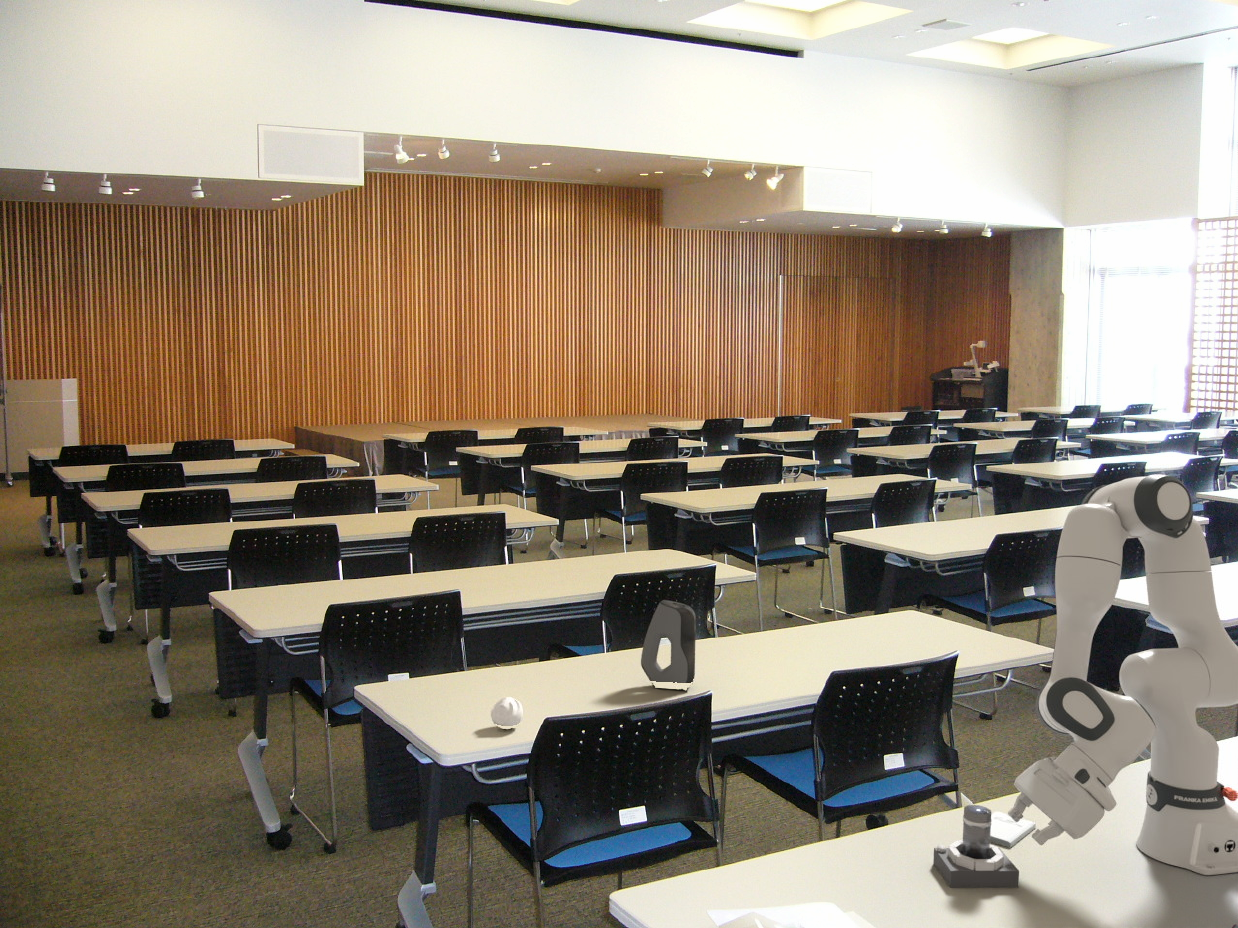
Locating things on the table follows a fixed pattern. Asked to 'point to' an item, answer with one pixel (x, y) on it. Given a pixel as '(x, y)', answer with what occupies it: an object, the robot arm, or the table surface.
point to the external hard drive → (1008, 829)
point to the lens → (976, 832)
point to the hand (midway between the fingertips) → (1023, 829)
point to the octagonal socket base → (975, 868)
